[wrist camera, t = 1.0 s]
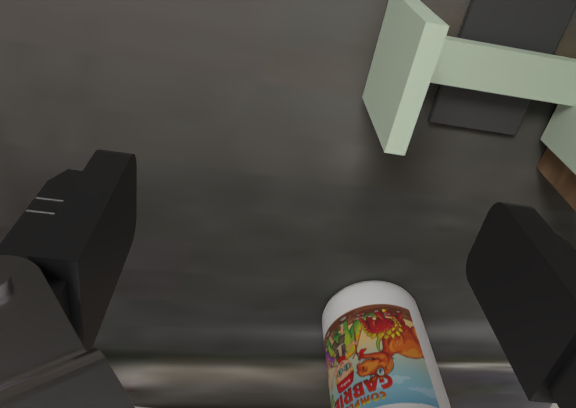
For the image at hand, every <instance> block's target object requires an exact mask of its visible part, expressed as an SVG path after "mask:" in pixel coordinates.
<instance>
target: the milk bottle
mask: <svg viewBox="0 0 576 408" xmlns="http://www.w3.org/2000/svg"><path fill="white" fill-rule="evenodd" d="M322 328H323V339H324V348H325V357H326V366H327V375H328V384H329V392H330V401H331V408H451V406H450V403H449V400H448V397H447V394H446V391H445V388H444V385H443V382H442V378H441V375H440V372H439V369H438V366H437V363H436V360H435V357H434V354H433V351H432V348H431V345H430V342H429V339H428V336H427V333H426V330H425V327H424V324H423V321H422V318H421V315H420V312H419V310H418V307H417V305H416V302H415V300H414V299H413V297H412V296H411V295H410V294H409V293H408V292H407V291H406V290H405V289H403V288H401V287H400V286H398V285H396V284H393V283H391V282H386V281H379V280H370V281H362V282H358V283H354V284H352V285H349V286H347V287H345V288H343V289H341V290H340V291H338V292H337V293H336V294H335V295H334V296H332V298H331V299H330V300H329V302H328V303H327V305H326V307H325V309H324V312H323V315H322Z"/></svg>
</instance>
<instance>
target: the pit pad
mask: <svg viewBox="0 0 576 408" xmlns="http://www.w3.org/2000/svg"><path fill="white" fill-rule="evenodd" d="M575 7H576V1H575V0H471V1H470V4H469V7H468V9H467V12H466V15H465V18H464V21H463V23H462V26H461V29H460V32H459V34H458V37H457V38H462V39H467V40H473V41H479V42H484V43H490V44H495V45H501V46H507V47H512V48H518V49H523V50H529V51H535V52H540V53H546V54H551V55H553V53H554V51H555V49H556V47H557V45H558V43H559V41H560V39H561V37H562V34H563V32H564V30H565V28H566V26H567V24H568V22H569V20H570V18H571V16H572V13H573V11H574V9H575ZM531 100H532V99H526V98H520V97H514V96H508V95H502V94H496V93H490V92H484V91H478V90H472V89H466V88H460V87H454V86H448V85H442V84H441V85H440V87H439V90H438V93H437V96H436V98H435V101H434V104H433V107H432V110H431V112H430V115H429V118H428V120H429V122H433V123H439V124H446V125H452V126H459V127H465V128H471V129H478V130H484V131H491V132H497V133H504V134H510V135H515V134H516V132H517V129H518V127H519V125H520V123H521V121H522V119H523V117H524V115H525V113H526V110H527V108H528V106H529V104H530V102H531Z"/></svg>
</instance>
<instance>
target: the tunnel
mask: <svg viewBox="0 0 576 408" xmlns="http://www.w3.org/2000/svg"><path fill="white" fill-rule="evenodd" d="M536 168H537V169H538V170H539V171H540V172H541V173H542V174H543V175H544V177H545V178H546V179H547V180H548V181H549V182H550V183H551V184H552V186H553V187H554V188H555V189H556V190H557V191H558V192H559V193H560V194H561V196H562V197H563V198H564V199H565V200H566V201H567V202H568V203H569V205H570V206H571V207H572V208H573V209H574V210H575V211H576V175H575V174H574V173H573V172H572V171H571V170H570V169H569V168H568V167H567V166H566V165H565V164H564V163H563V162H562V161H561V160H560V159H559V158H558V157H557V156H556V155H555V154H554V153H553V152H552V151H551V150H550V149H549V148H548V147H547V148H546V150H545V152H544V154H543V156H542V158H541V160H540V161H539V163H538V165H537V167H536Z"/></svg>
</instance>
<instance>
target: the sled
mask: <svg viewBox="0 0 576 408" xmlns="http://www.w3.org/2000/svg"><path fill="white" fill-rule="evenodd" d="M448 29H449V25H447V24H446V23H445V22H444V21H443V20H442V19H440V18H439V17H438V16H437V15H436V14H435V13H434V12H432V11H431V10H430V9H429V8H428V7H427V6H426V5H424V4H423V3H422V2H421V1H420V0H389V1H388V5H387V9H386V12H385V16H384V20H383V23H382V27H381V31H380V34H379V38H378V42H377V45H376V49H375V53H374V56H373V60H372V64H371V67H370V71H369V75H368V78H367V82H366V86H365V90H364V93H363V97H362V98H363V101H364V103H365V106H366V108H367V111H368V113H369V116H370V118H371V121H372V123H373V126H374V128H375V131H376V133H377V136H378V138H379V141H380V143H381V146H382V148H383V151H384V153H390V154H397V155H403V156H405V153H406V150H407V148H408V145H409V142H410V139H411V136H412V133H413V130H414V127H415V124H416V122H417V119H418V116H419V113H420V110H421V107H422V104H423V101H424V99H425V96H426V93H427V90H428V87H429V84H430V83H436V84H442V85H448V86H454V87H460V88H466V89H472V90H478V91H484V92H490V93H496V94H502V95H508V96H514V97H520V98H526V99H532V100H538V101H544V102H550V103H557V104H558V105H557V107H556V109H555V111H554V113H553V115H552V117H551V119H550V121H549V123H548V125H547V127H546V129H545V131H544V133H543V135H542V137H541V139H540V140H541V141H542V142H543V143H544V144H545V145H546V146H547V147H548V148H549V149H550V150H551V151H552V152H553V153H554V154H555V155H556V156H557V157H558V158H559V159H560V160H561V161H562V162H563V163H564V164H565V165H566V166H567V167H568V168H569V169H570V170H571V171H572V172H573V173H574V174H575V175H576V59H574V58H568V57H563V56H557V55H551V54H546V53H540V52H535V51H529V50H523V49H518V48H512V47H507V46H501V45H495V44H490V43H484V42H479V41H473V40H467V39H462V38H456V37H451V36H446V35H447V32H448Z"/></svg>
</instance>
